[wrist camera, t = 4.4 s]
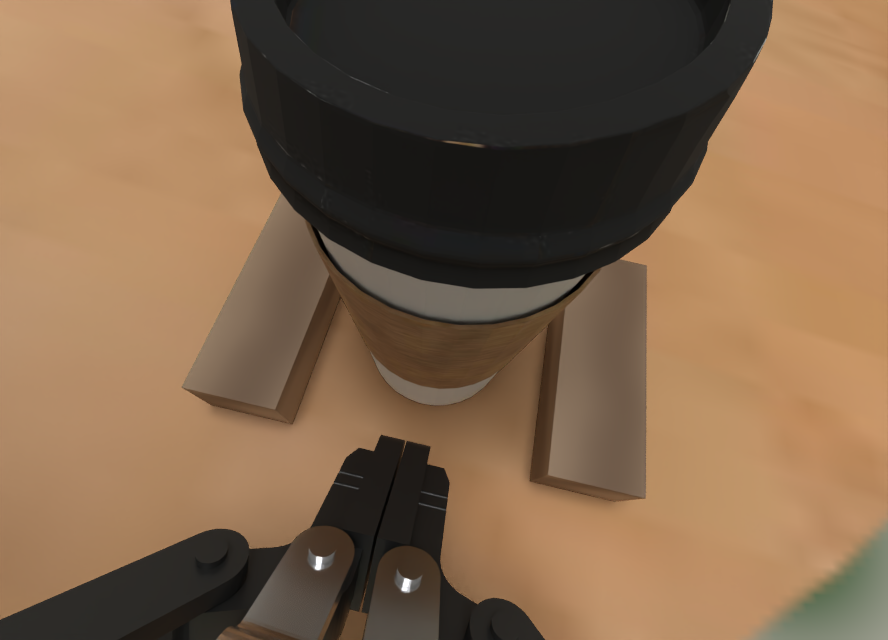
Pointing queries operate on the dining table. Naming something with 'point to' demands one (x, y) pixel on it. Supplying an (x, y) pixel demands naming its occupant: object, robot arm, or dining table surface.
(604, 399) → the clamp blocks
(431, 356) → the coffee cup
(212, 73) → the dining table surface
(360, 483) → the robot arm
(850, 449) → the dining table surface
